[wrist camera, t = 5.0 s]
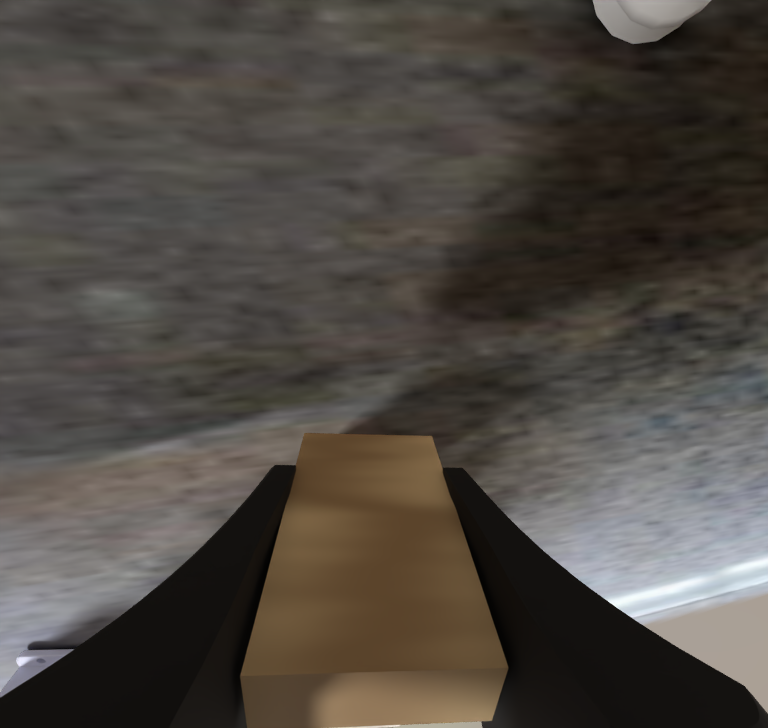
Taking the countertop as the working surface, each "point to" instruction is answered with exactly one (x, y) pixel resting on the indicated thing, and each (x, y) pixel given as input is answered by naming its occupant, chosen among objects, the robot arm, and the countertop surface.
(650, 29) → the rook chess piece
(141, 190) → the countertop surface
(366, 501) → the ochre domino
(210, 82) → the countertop surface
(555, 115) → the countertop surface
